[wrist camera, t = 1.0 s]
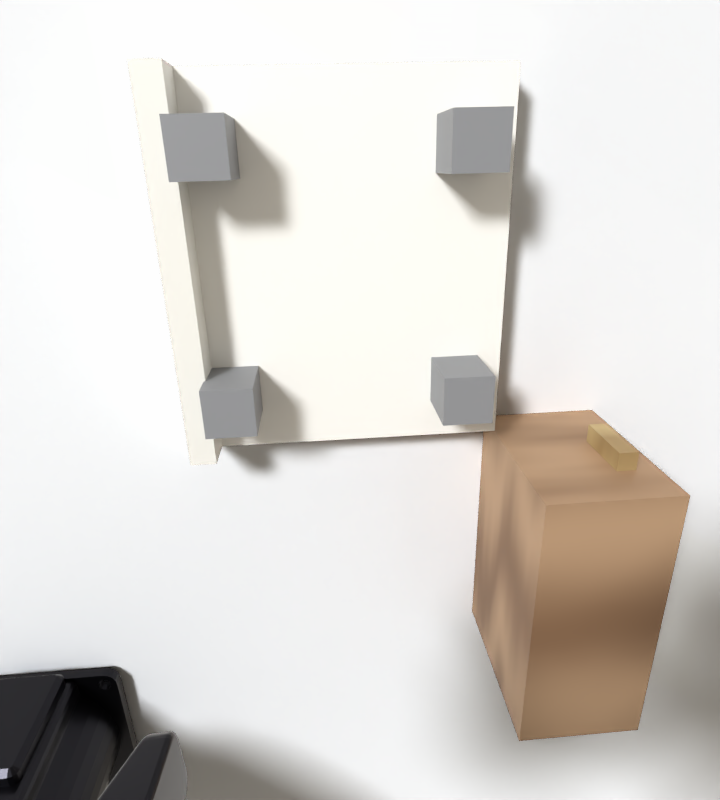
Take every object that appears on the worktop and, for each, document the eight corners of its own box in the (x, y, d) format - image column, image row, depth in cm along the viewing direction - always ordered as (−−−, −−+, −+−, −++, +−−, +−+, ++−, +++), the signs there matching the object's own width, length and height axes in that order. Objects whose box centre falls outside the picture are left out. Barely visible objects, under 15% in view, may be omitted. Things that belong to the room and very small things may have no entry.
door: (563, 602, 25) (637, 729, 19) (471, 609, 24) (519, 740, 19) (592, 393, 21) (694, 476, 15) (484, 399, 21) (548, 486, 15)
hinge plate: (484, 416, 21) (513, 458, 18) (203, 432, 20) (185, 478, 17) (507, 67, 17) (549, 46, 14) (152, 73, 16) (116, 52, 13)
